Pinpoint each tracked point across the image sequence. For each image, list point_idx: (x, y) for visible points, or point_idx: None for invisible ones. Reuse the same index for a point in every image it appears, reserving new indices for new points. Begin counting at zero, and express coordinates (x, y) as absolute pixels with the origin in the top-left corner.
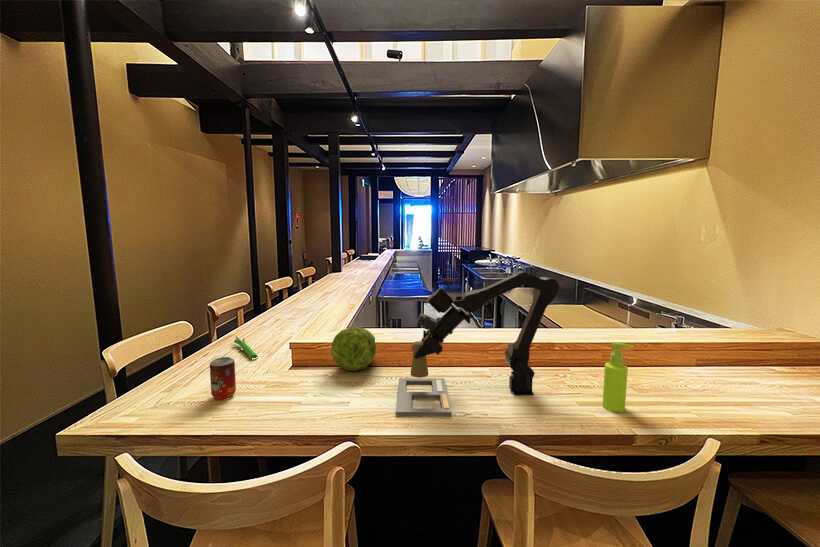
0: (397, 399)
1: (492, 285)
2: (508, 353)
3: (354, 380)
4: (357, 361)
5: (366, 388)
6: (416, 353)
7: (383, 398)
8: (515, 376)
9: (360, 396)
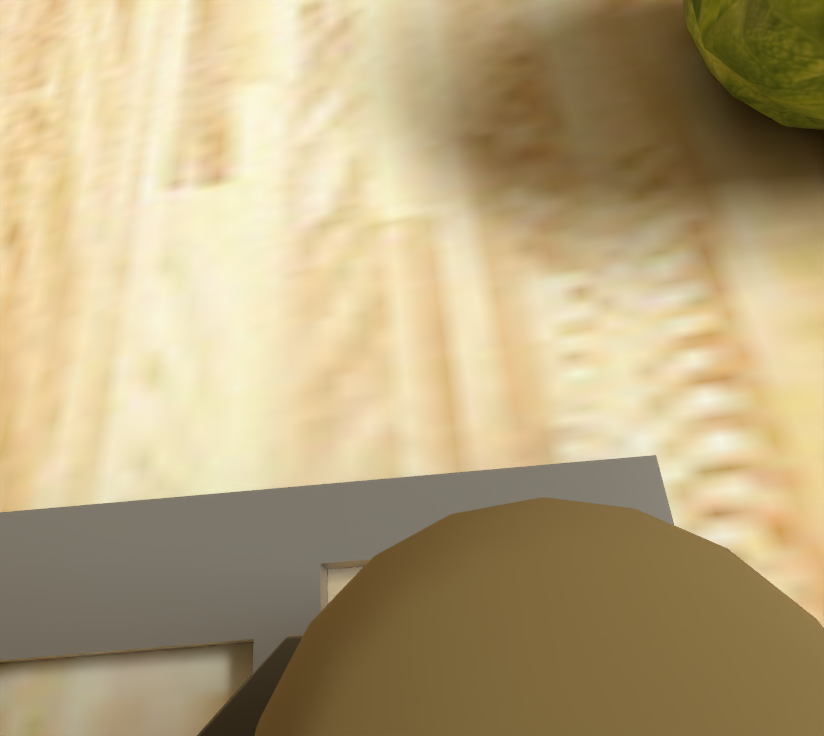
0: (158, 502)
1: None
2: None
3: (574, 128)
4: (719, 11)
5: (443, 230)
6: (217, 714)
7: (268, 382)
8: None
9: (303, 223)
